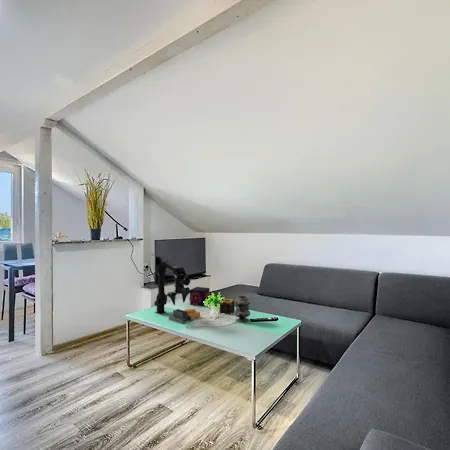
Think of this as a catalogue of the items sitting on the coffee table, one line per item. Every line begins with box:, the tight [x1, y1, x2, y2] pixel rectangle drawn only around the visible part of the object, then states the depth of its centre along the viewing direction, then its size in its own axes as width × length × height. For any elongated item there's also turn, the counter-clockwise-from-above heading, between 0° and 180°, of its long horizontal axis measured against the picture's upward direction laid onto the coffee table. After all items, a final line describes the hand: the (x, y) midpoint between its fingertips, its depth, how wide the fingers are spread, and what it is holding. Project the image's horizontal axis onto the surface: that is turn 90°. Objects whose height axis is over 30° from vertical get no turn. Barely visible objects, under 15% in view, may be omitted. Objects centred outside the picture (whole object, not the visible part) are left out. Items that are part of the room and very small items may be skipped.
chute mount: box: [168, 315, 193, 325], centre depth 230 cm, size 16×10×3 cm, turn 48°
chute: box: [172, 308, 187, 321], centre depth 229 cm, size 11×5×6 cm, turn 48°
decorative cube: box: [189, 286, 211, 307], centre depth 276 cm, size 16×16×14 cm
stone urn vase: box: [233, 295, 251, 323], centre depth 227 cm, size 12×12×18 cm
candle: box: [219, 298, 236, 315], centre depth 248 cm, size 10×10×10 cm
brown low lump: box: [184, 307, 201, 320], centre depth 237 cm, size 12×10×6 cm
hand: (179, 303), depth 232 cm, fingers open, 9 cm apart
